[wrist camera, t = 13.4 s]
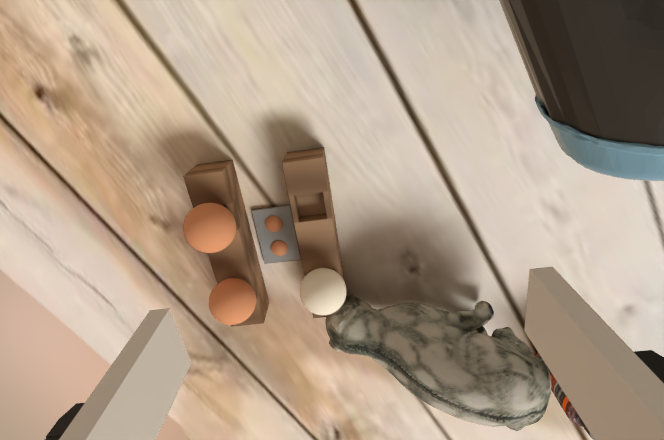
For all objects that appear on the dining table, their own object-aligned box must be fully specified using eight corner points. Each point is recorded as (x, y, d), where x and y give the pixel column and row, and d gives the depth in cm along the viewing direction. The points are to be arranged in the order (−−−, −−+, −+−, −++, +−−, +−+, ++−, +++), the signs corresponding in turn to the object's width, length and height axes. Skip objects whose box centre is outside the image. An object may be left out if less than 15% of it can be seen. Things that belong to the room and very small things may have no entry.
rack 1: (196, 164, 42) (183, 176, 38) (232, 160, 41) (222, 171, 38) (238, 305, 49) (231, 326, 46) (269, 302, 49) (263, 323, 46)
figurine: (474, 248, 49) (323, 267, 43) (584, 385, 35) (383, 439, 30) (451, 297, 55) (316, 319, 49) (538, 431, 41) (364, 482, 36)
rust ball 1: (188, 198, 40) (167, 218, 35) (234, 192, 39) (220, 211, 35) (201, 241, 42) (184, 265, 37) (246, 235, 41) (234, 259, 37)
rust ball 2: (211, 272, 43) (196, 298, 39) (254, 267, 43) (244, 293, 38) (222, 307, 45) (209, 337, 41) (264, 303, 45) (255, 332, 40)
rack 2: (287, 152, 41) (281, 163, 37) (323, 147, 41) (322, 157, 37) (315, 297, 49) (313, 318, 45) (346, 294, 48) (347, 314, 45)
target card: (252, 209, 44) (251, 211, 43) (290, 204, 43) (289, 206, 43) (265, 261, 47) (264, 264, 46) (300, 257, 46) (300, 260, 46)
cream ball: (298, 262, 42) (293, 288, 38) (342, 256, 42) (343, 282, 38) (306, 298, 45) (302, 327, 40) (348, 294, 44) (349, 322, 40)
